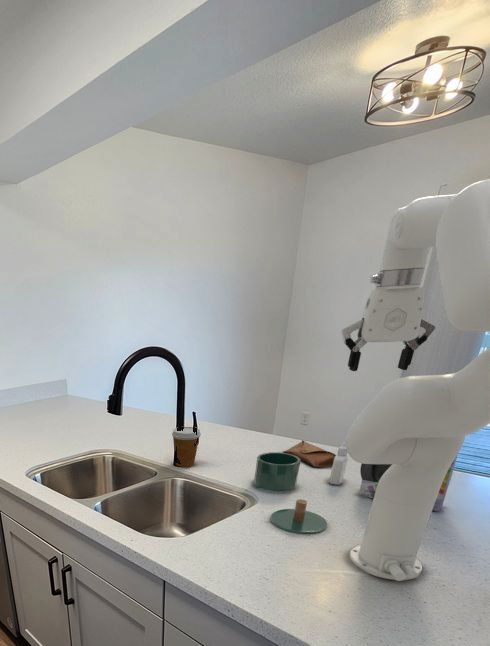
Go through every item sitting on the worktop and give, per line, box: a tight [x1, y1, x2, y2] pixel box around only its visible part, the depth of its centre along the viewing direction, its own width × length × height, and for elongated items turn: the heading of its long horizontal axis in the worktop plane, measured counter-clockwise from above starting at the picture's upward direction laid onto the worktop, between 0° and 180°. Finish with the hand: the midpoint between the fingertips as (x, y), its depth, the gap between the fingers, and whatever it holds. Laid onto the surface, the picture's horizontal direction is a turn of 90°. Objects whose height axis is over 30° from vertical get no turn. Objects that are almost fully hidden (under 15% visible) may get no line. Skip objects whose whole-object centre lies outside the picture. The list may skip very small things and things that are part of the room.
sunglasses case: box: [283, 439, 337, 468], centre depth 148 cm, size 18×7×7 cm, turn 13°
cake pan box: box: [358, 453, 459, 512], centre depth 112 cm, size 19×5×18 cm, turn 45°
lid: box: [270, 499, 328, 535], centre depth 106 cm, size 13×13×6 cm
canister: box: [253, 451, 302, 493], centre depth 128 cm, size 11×11×8 cm
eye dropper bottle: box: [328, 442, 349, 486], centre depth 127 cm, size 4×6×12 cm
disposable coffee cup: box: [171, 426, 202, 468], centre depth 147 cm, size 10×10×12 cm
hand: (377, 369), depth 95 cm, fingers open, 9 cm apart
